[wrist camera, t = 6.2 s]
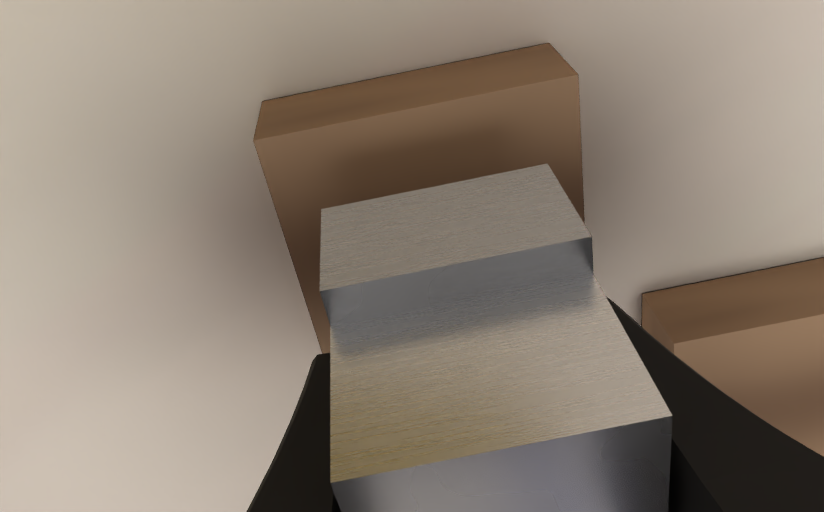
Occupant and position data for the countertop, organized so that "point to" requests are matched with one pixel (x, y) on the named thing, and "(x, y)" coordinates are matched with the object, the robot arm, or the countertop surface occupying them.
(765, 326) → the stand
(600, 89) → the countertop surface
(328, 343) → the stand
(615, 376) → the block
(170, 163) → the countertop surface
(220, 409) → the countertop surface
